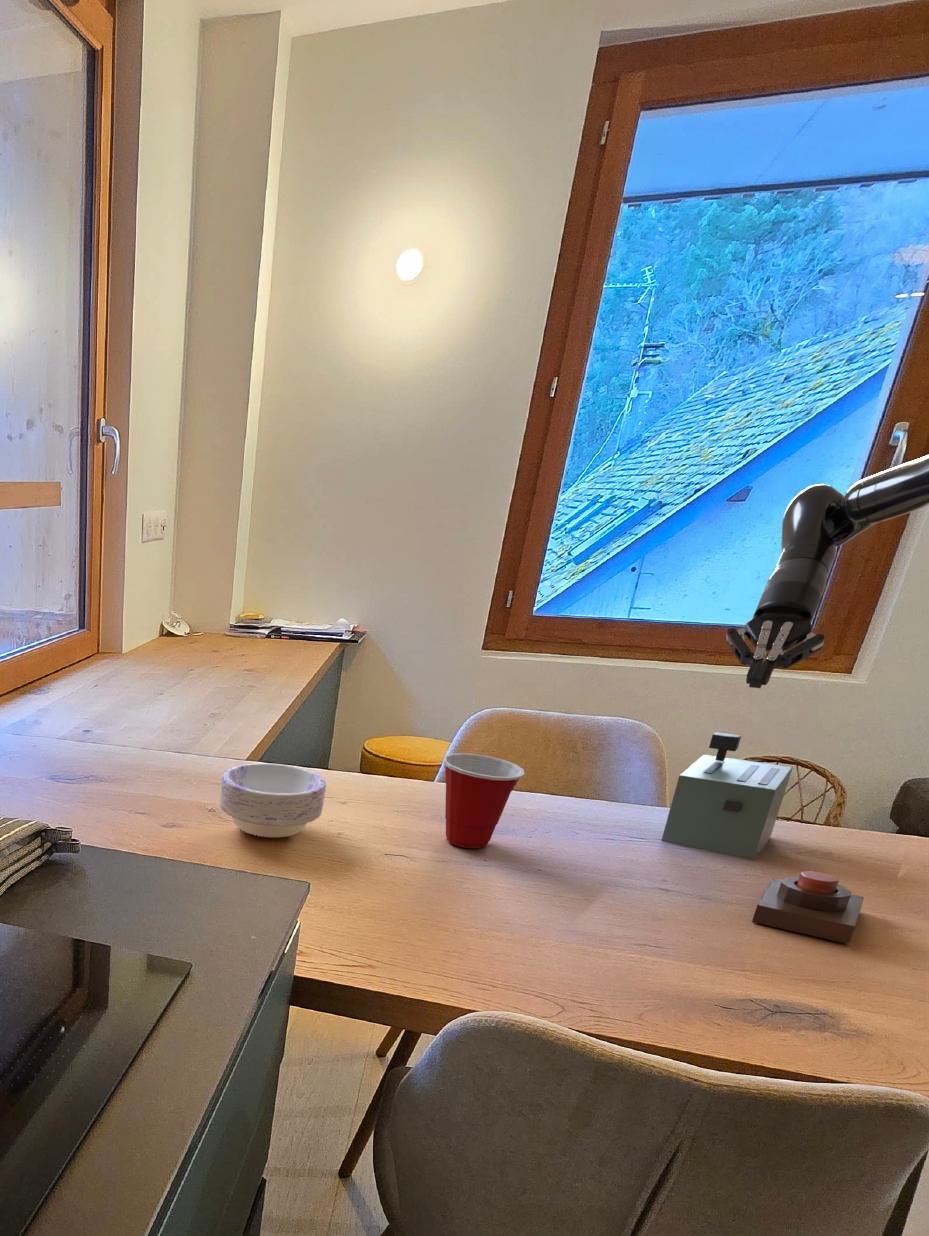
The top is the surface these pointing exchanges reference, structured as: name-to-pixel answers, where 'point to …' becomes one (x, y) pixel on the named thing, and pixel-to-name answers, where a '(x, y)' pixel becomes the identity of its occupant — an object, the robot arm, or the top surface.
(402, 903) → the top surface
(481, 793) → the plastic cup
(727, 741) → the toaster slider
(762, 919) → the box
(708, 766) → the toaster
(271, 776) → the paper bowls
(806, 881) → the button
